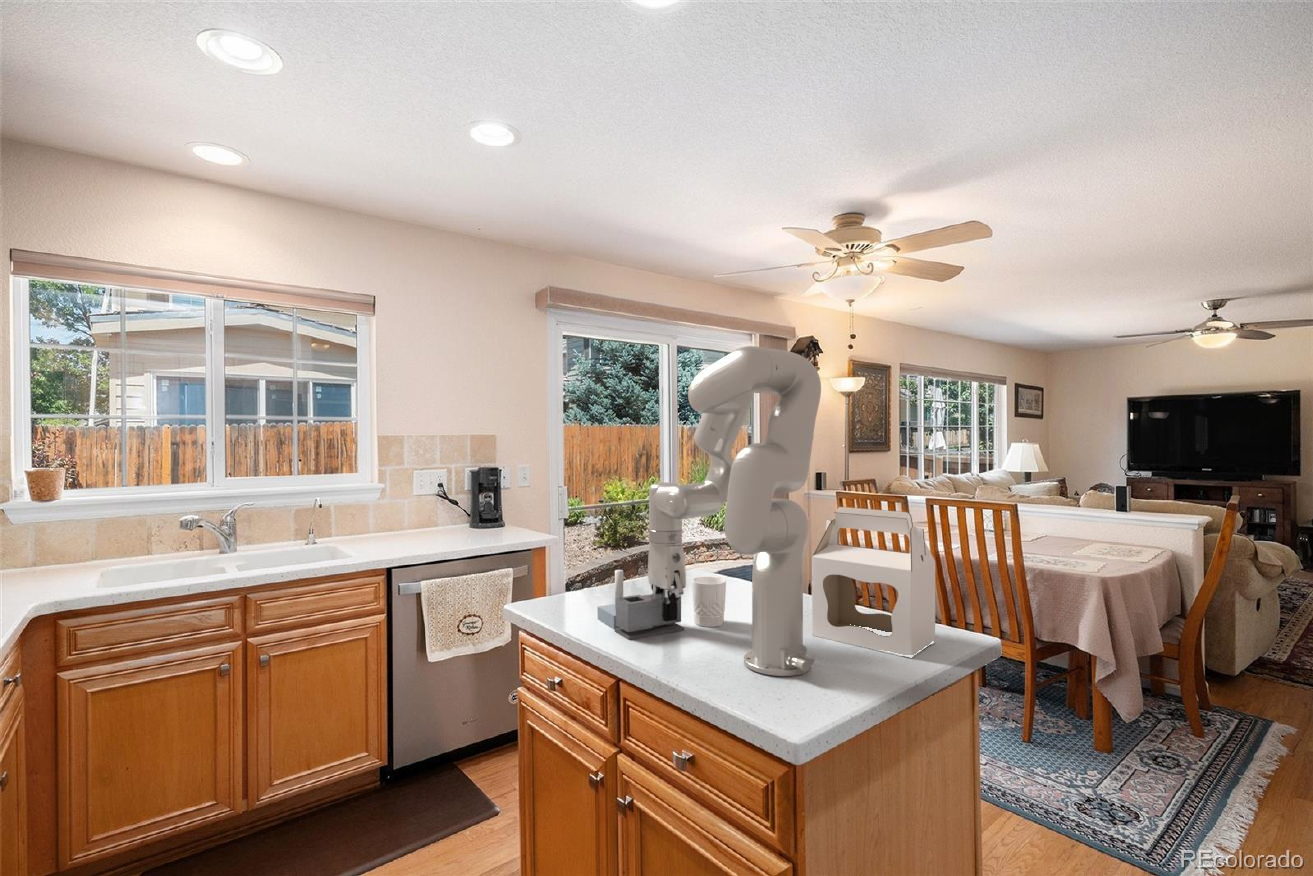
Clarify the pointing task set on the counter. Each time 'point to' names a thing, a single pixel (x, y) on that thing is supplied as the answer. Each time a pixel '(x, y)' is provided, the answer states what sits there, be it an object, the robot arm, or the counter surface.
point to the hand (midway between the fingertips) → (665, 617)
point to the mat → (650, 631)
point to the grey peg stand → (609, 611)
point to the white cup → (709, 601)
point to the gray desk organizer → (642, 611)
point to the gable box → (874, 566)
